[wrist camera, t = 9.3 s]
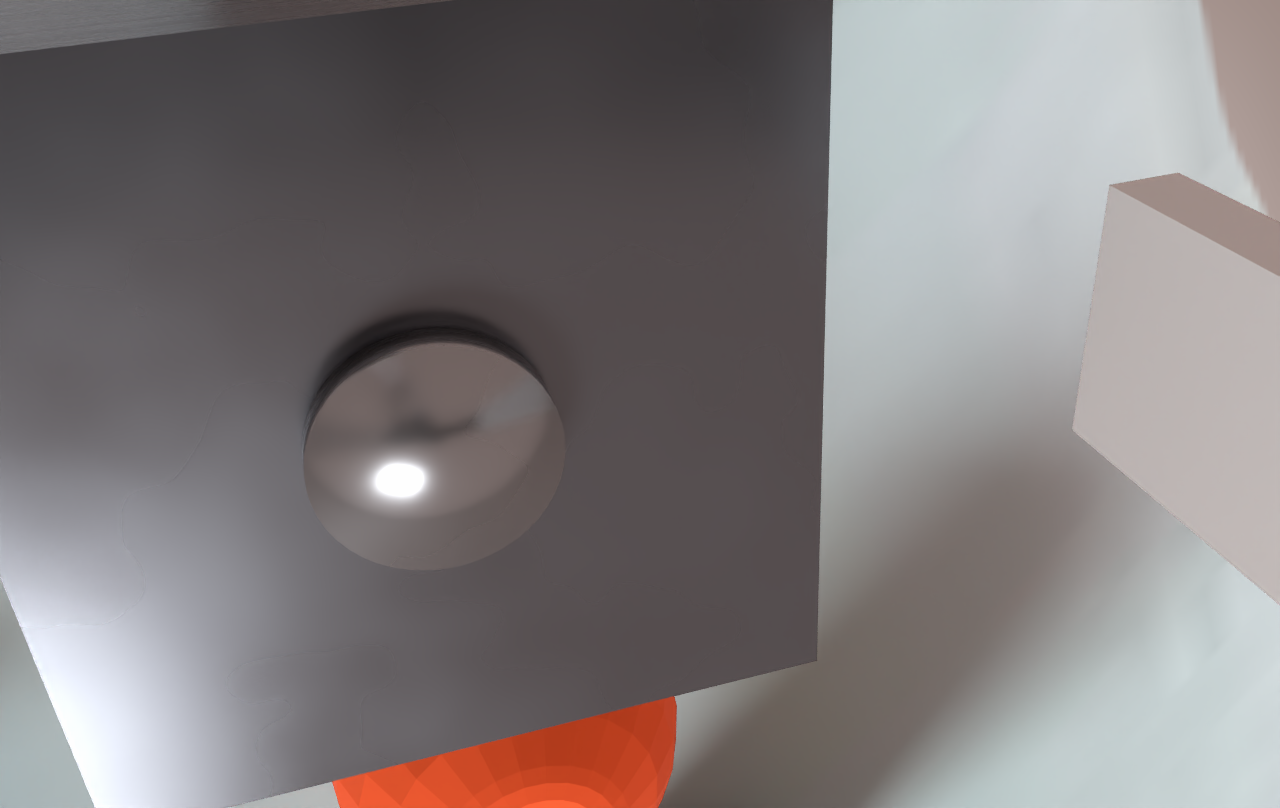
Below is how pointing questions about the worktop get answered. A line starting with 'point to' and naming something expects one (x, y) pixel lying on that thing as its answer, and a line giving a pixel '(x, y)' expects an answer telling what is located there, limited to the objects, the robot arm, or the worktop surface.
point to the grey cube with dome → (403, 371)
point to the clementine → (537, 768)
